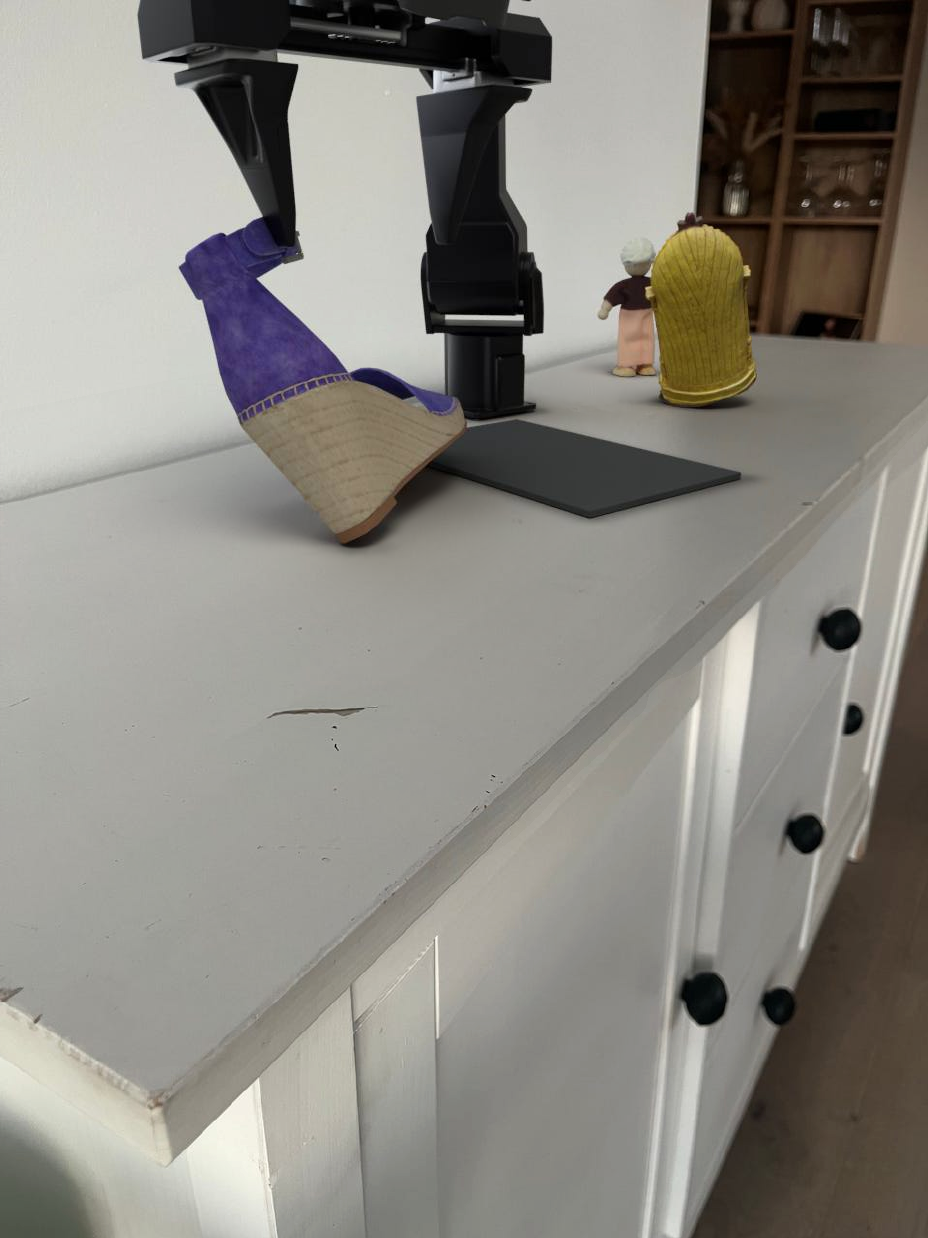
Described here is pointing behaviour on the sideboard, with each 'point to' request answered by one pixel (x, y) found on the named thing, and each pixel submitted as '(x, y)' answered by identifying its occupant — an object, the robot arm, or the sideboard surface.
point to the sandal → (312, 390)
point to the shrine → (701, 316)
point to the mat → (572, 468)
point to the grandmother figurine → (633, 311)
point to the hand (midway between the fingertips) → (370, 245)
